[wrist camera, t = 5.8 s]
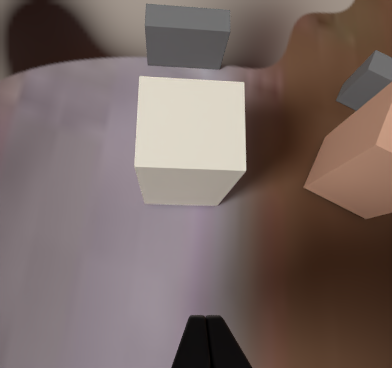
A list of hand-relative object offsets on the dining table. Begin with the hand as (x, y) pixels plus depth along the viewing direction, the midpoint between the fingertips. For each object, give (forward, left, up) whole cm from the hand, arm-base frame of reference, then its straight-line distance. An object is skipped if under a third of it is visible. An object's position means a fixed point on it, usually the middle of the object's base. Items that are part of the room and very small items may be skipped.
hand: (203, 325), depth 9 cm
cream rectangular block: (+7, -2, -12) cm, 14 cm away
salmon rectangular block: (+4, -13, -12) cm, 18 cm away
